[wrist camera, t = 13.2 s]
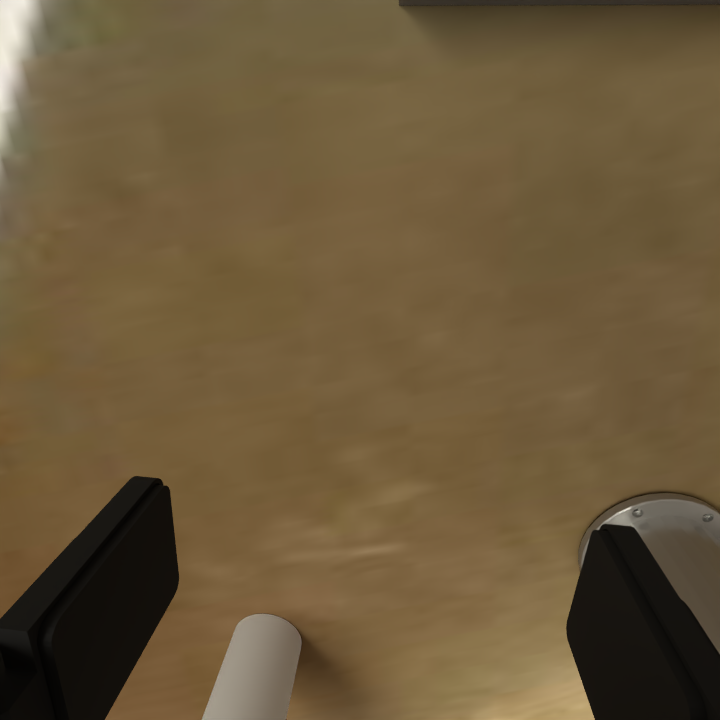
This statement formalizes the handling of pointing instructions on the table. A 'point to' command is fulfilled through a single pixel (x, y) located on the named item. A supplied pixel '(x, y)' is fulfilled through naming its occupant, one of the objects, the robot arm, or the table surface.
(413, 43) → the table surface
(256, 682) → the cylindrical container
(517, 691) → the table surface
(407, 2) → the socket
